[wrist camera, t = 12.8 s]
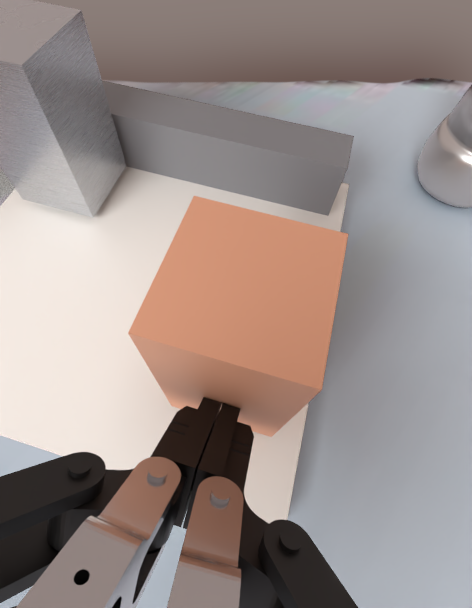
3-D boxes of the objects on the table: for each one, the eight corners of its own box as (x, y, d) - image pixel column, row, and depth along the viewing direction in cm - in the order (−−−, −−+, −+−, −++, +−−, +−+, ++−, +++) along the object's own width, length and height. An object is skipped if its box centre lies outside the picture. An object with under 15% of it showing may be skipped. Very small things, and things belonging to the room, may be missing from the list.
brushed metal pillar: (93, 217, 22) (21, 65, 14) (22, 199, 22) (-86, 41, 14) (126, 166, 24) (81, 9, 16) (61, 150, 25) (-13, -9, 17)
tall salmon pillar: (271, 437, 16) (321, 389, 8) (171, 405, 17) (127, 333, 9) (292, 342, 18) (348, 233, 11) (204, 317, 19) (193, 195, 11)
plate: (279, 527, 16) (305, 545, 11) (-122, 392, 18) (-246, 358, 13) (342, 199, 26) (370, 134, 21) (79, 136, 28) (50, 64, 24)
